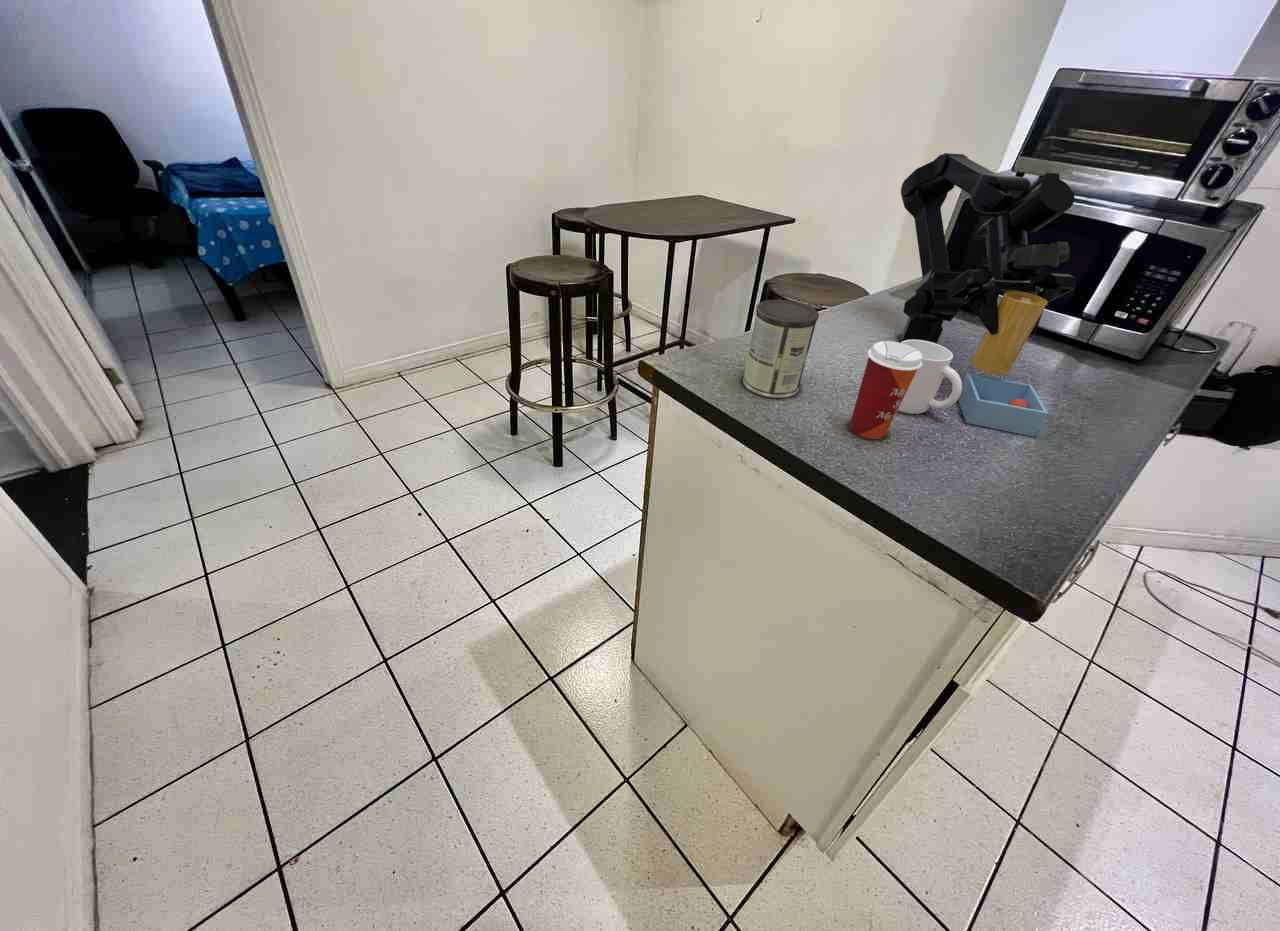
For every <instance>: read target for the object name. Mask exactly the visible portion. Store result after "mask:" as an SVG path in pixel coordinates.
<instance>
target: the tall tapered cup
mask: <svg viewBox="0 0 1280 931" xmlns="http://www.w3.org/2000/svg"><path fill="white" fill-rule="evenodd" d="M1048 303H1049V302H1048V301H1047V300H1045V299H1044V298H1042V297H1040V296H1037V295H1034V294H1030V293H1026V292H1020V291H1007V292H1004V293H1003V296H1002V297H1001V300H1000V301H999V303H998V305H997V306H998V333H996V334H994V335H991V334H990V332H989V331H988V329H987V328H986V330H985V332H984V334H983V336H982V338H981V340H980V342H979V344H978V347H977V348H976V350H975V353H974V355H973V357H972V359H971V361H970V364H971V365H972V366H973V367H974V368H975V369H977V370H979V371H982V372H984V373H986V374H991V375H997V376H1006V375H1009V373H1010V372H1011V370H1012V368H1013V367H1014V365H1015V363H1016V361H1017V359H1018V358H1019V356H1020V354H1021V352H1022V351H1023V348H1024V346H1025V345H1026V343H1027V342H1028V339H1029V338H1030V337H1031V336H1030V334H1031V332H1032V330H1033V328H1034V327H1035V325H1036V323H1037V321H1038V319H1039V317H1040V316H1041V314H1042V315H1043V313H1044V311H1043V310H1045V308H1046V307H1047V305H1048ZM1042 312H1043V313H1042ZM1041 317H1042V316H1041Z"/></svg>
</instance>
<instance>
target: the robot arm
mask: <svg viewBox="0 0 1280 931" xmlns="http://www.w3.org/2000/svg"><path fill="white" fill-rule="evenodd" d="M955 186H956V187H957V188H959V189H960V190H962V191H964V192H965V193H966V194H968V195H969V196H970V198H969V204H970V205H972V206H973V208H974V209H975V211H977V213H980V214H995V215H994V216H993V217H992V218H990V219H985V220H984V222H983V224H982V225H981V226H980V227H979V228H978V230H977V232H976V237H984V238H985V242H986V245H985V246H986V257H985V258H984V259H982V260H981V266H982V267H987V269H977V268H976V269H975V268H968V269H966V270H965V271H963V272H960V271H953V270H951V268H950V263H949V256H948V250H947V244H946V243H947V242H946V236H945V228H944V221H943V215H942V206H943V204H944V203H945V200H946V199H947V197H948V193H949V192H951V191H952V190H953V189H954V188H955ZM900 196H901V200H902V204H903V207H904V209H905V210H906V211H907V212H908V213H909V214H910V215H911V216H912V217H913V219H914V225H915V233H916V242H917V248H918V254H919V261H920V269H921V279H920V282H919V284H918V286H916V289H915V294H914V295H913V296H911V297H910V298H909V299H907V300H906V301H904V306H903V310H902V312H903V314H905V315H906V316H907V320H906V323H905V326H904V328H903V331H902V333H900V334H899V340H900V343H901V342H903V341H905V340H924V341H929V342H932V343H936V344H938V342H939V340H940V337H941V335H942V332H943V331H944V328H943V326H942V325H943V323H944V322H945V321H946V322H952V320H953V319H954V318H955V316H956V315H957V314H958V312H959V311H960V310H961V309H962V307H963V305H967V306H968V307H969V308H970V310H972V311H973V313H974V314H975V315H976V316H977V317H978V319H979V321H980V322H981V323H982V324H983V325H984V327H985V328H986V330H987V329H988V331H989V332H990V334H991V335H994V334H996V333H998V306H999V305H998V298H999V296H1000V293H1001V292H1002V293H1003V292H1004V293H1005V292H1007V291H1020V292H1026V293H1030V294H1034V295H1037V296H1040V297H1042V298H1044V299H1045V300H1047V301H1048V303H1051V302H1054V301H1055V300H1057V299H1059V298H1061V297H1063V296H1064V295H1067V294H1069V293H1070V292H1072V291H1074V290H1076V281H1075V276H1074V275H1071V274H1069V273H1050V272H1049V273H1048V274H1046V275H1045V276H1043V277H1041V278H1039V279H1038V280H1031V278H1032V277H1036V276H1038V275H1040V274H1041V270H1043V269H1049V268H1051V269H1056V268H1058V266H1059V265H1060V264H1066V262H1067V261H1068V260H1069V257H1070V252H1071V249H1070V246H1069V242H1068V241H1056V242H1051V243H1050V244H1041V243H1039V244H1028V233H1034V232H1037V231H1039V230H1040V229H1042V228H1044V227H1045V226H1046V225H1047V224H1049V223H1051V222H1052V221H1053V220H1055V219H1056V218H1058V217H1059V216H1061V215H1062V214H1064V213H1066V212H1067V211H1068V210H1070V209H1071V208H1072V206H1073V205H1074V203H1075V192H1074V191H1073V190H1072V189H1071V187H1070V186H1069V184H1067V182H1066V181H1064V180H1062V179H1061V178H1060V173H1058V172H1046V173H1044V174H1043V175H1042V176H1041V177H1040V178H1039V179H1037V181H1036V182H1035V183H1033V184H1032V185H1031V181H1030V180H1029V178H1027V177H1023V176H1016V175H1009V174H999V173H996V172H994V171H992V170H990V169H989V168H987V167H984V166H982V164H979V163H977V162H975V161H974V160H971V159H970V158H968V156H967V155H965V154H963V153H951V152H944V153H943V154H939V155H938V156H937V157H936V158H935V159H933V161H930V162H928V163H926V164H924V165H922V166H920V167H917V168H916V169H915V170H913V171H912V172H911V174H909V175H908V176H907V177H906V178H905V179H904V180H903V182H902V184H901V187H900ZM1044 310H1045V309H1044ZM1044 310H1043V312H1042V314H1041V316H1040V317H1039V319H1038V321H1037V323H1036V325H1035V327H1034V328H1033V330H1032V332H1031V334H1030V336H1029V337H1033V336H1035V335H1036V333H1037V330H1038V328H1039V324H1040V321H1041V319H1042V316H1043V313H1044Z"/></svg>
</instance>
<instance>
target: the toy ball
mask: <svg viewBox="0 0 1280 931" xmlns="http://www.w3.org/2000/svg"><path fill="white" fill-rule="evenodd" d="M1008 405H1012V406H1018V407H1023V408H1028V404H1027V402H1026V401H1025V400H1023V399H1013V400H1011V401H1010V402H1009V403H1008Z"/></svg>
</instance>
